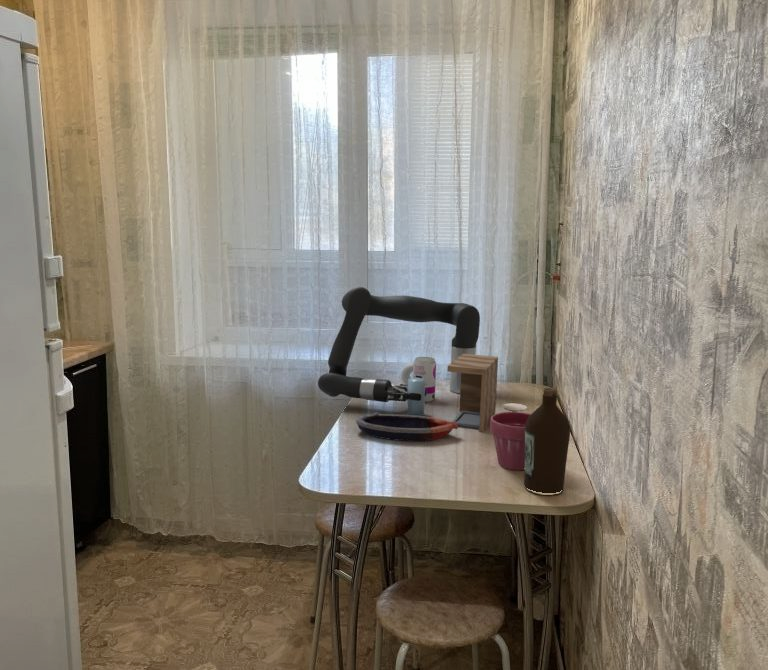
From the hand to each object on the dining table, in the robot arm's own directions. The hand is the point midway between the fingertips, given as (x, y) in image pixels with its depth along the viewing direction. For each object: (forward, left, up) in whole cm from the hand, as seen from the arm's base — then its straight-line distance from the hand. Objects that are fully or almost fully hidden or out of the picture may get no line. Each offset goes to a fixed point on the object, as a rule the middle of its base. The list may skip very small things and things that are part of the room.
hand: (423, 395), depth 226 cm
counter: (-1, +16, -7) cm, 17 cm away
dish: (+21, +1, -8) cm, 23 cm away
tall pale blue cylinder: (0, -3, -7) cm, 7 cm away
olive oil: (+48, +44, -7) cm, 66 cm away
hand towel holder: (-3, +31, -8) cm, 32 cm away
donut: (-34, -14, -7) cm, 37 cm away
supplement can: (-20, -6, -7) cm, 22 cm away
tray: (0, +16, -7) cm, 17 cm away
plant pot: (+34, +35, -7) cm, 50 cm away
